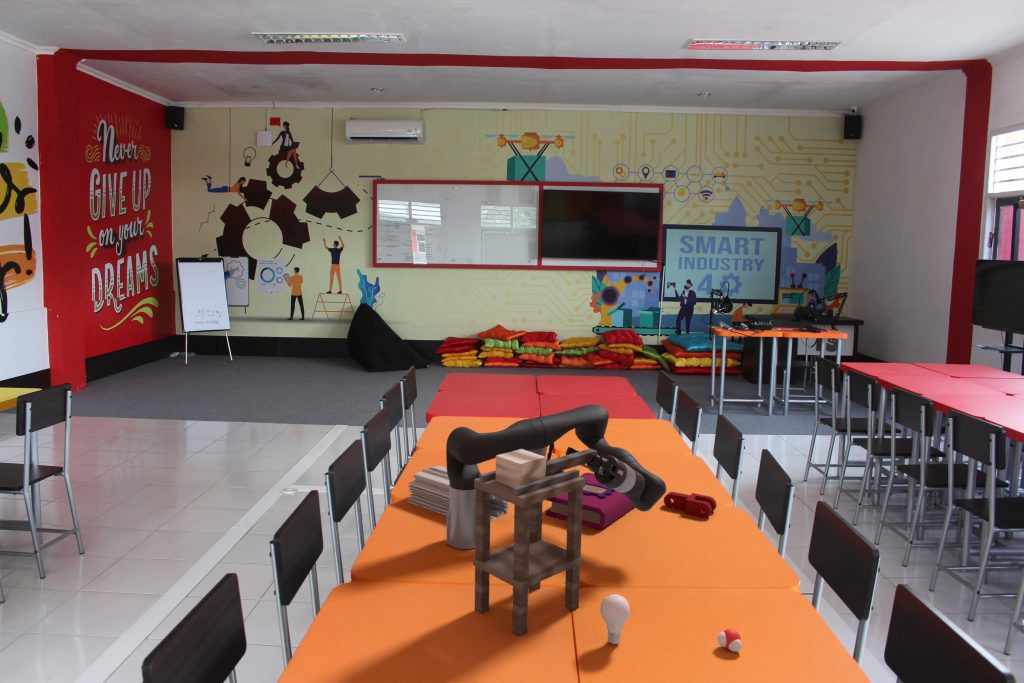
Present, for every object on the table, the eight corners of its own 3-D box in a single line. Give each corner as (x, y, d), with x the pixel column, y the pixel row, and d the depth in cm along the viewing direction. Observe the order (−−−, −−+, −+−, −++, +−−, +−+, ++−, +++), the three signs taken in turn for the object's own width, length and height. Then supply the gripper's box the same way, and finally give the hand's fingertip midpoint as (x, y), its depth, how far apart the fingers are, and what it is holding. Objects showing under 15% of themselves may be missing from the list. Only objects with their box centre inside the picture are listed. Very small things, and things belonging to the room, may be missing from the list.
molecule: (736, 642, 164) (737, 624, 164) (744, 655, 160) (745, 637, 159) (713, 643, 164) (715, 625, 164) (720, 655, 159) (721, 637, 159)
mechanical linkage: (716, 512, 240) (717, 497, 240) (709, 520, 234) (710, 504, 234) (668, 502, 248) (668, 488, 248) (660, 509, 242) (661, 494, 242)
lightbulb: (596, 635, 166) (598, 589, 164) (624, 635, 167) (626, 588, 165) (602, 651, 160) (604, 603, 158) (631, 650, 160) (633, 602, 159)
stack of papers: (477, 527, 225) (478, 495, 224) (407, 502, 244) (407, 473, 243) (508, 514, 236) (508, 483, 235) (438, 491, 255) (438, 463, 254)
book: (642, 505, 247) (643, 482, 245) (603, 532, 224) (604, 508, 222) (585, 491, 258) (586, 470, 257) (543, 516, 235) (543, 493, 234)
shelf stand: (519, 637, 165) (522, 491, 160) (472, 609, 176) (474, 473, 171) (580, 607, 178) (585, 472, 173) (533, 583, 190) (536, 456, 185)
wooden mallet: (519, 490, 165) (520, 464, 164) (495, 480, 171) (496, 455, 170) (605, 464, 184) (606, 440, 183) (581, 456, 190) (582, 433, 189)
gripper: (632, 495, 188) (595, 476, 177) (589, 481, 198) (552, 461, 187) (642, 467, 189) (607, 446, 179) (599, 454, 200) (563, 433, 189)
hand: (579, 454), depth 183 cm, fingers open, 7 cm apart
